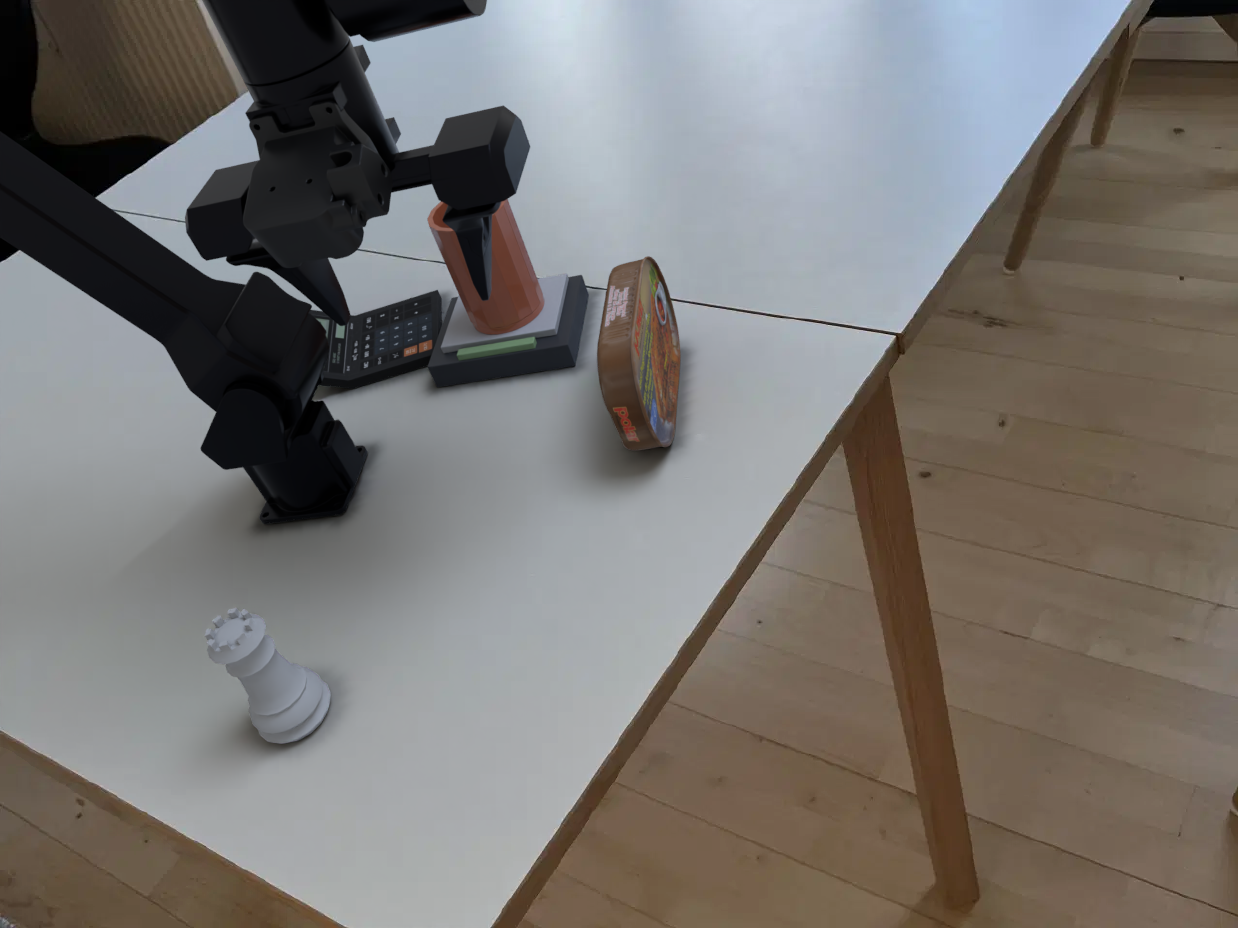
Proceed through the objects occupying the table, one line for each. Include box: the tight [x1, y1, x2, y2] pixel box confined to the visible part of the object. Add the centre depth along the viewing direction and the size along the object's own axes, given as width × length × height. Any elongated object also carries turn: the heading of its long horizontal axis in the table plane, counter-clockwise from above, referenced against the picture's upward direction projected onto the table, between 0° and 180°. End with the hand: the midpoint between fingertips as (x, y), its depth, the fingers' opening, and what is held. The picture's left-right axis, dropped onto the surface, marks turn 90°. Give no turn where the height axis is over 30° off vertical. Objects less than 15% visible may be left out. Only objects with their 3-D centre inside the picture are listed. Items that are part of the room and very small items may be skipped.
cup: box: [427, 198, 545, 335], centre depth 78 cm, size 6×6×9 cm
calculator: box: [309, 289, 443, 390], centre depth 86 cm, size 9×12×3 cm
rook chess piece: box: [204, 607, 332, 744], centre depth 58 cm, size 4×4×8 cm
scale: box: [427, 273, 590, 388], centre depth 82 cm, size 11×9×3 cm
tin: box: [596, 255, 682, 452], centre depth 70 cm, size 15×3×8 cm, turn 174°
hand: (415, 309), depth 64 cm, fingers open, 9 cm apart
